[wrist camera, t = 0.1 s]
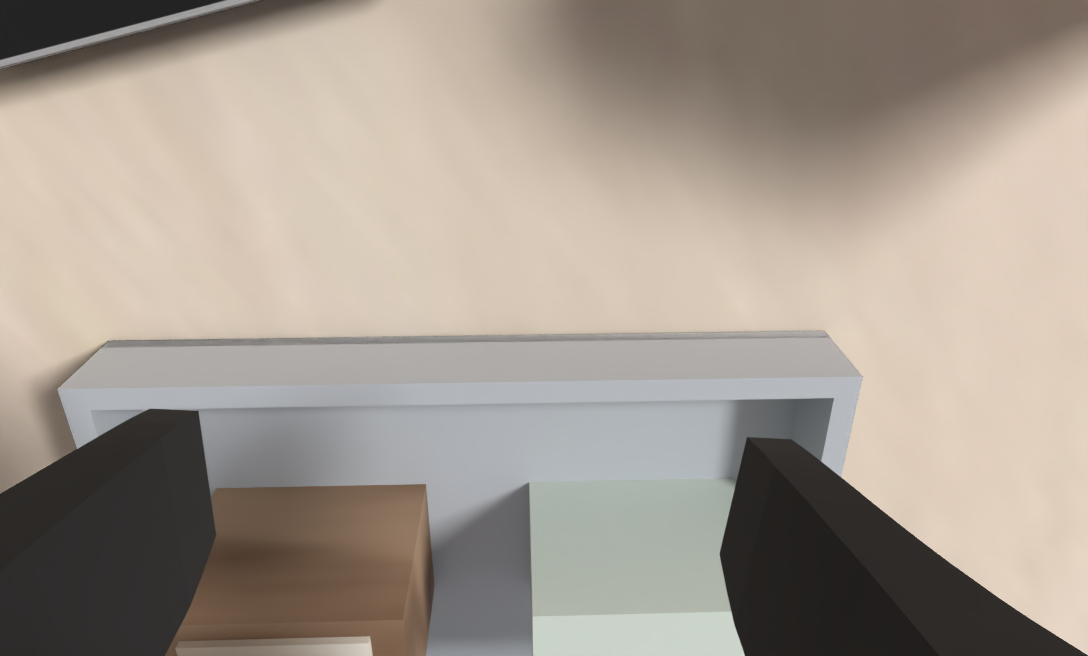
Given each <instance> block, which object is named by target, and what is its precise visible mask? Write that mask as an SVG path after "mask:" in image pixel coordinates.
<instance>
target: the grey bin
mask: <svg viewBox="0 0 1088 656" xmlns="http://www.w3.org/2000/svg"><path fill="white" fill-rule="evenodd" d="M862 377H863V376H862V375H861V374H860V373H859V372H858V370H857V369H856V368H855V367H854V365H853V364H852V363H851V362H850V361H849V359H848V358H847V357H846V356H845V355H844V353H843V352H842V351H841V350H840V349H839V347H838V346H837V345H836V344H835V343H834V341H833V340H832V339H831V338H830V337H829V335H828V334H827V333H826V332H825V331H779V332H707V333H634V334H562V335H489V336H417V337H344V338H272V339H199V340H127V341H108V342H107V343H106V344H105V345H104V346H103V347H102V348H101V349H100V350H98V351H97V352H96V353H95V354H94V355H93V356H92V357H91V358H90V359H89V360H88V361H87V362H86V363H85V364H84V365H82V366H81V367H80V368H79V369H78V370H77V371H76V372H75V373H74V374H73V375H72V376H71V377H70V378H69V379H68V380H66V381H65V382H64V383H63V384H62V385H61V386H60V387H59V388H58V389H57V390H58V393H59V396H60V399H61V402H62V405H63V408H64V411H65V414H66V417H67V420H68V423H69V427H70V430H71V433H72V436H73V439H74V442H75V445H76V448H77V449H78V448H80V447H81V446H83V445H85V444H86V443H88V442H90V441H92V440H93V439H95V438H97V437H98V436H100V435H102V434H104V433H105V432H107V431H109V430H111V429H112V428H114V427H116V426H118V425H119V424H121V423H123V422H125V421H126V420H128V419H130V418H132V417H134V416H136V415H138V414H140V413H142V412H144V411H146V410H148V409H169V410H190V411H199V418H200V425H201V432H202V439H203V446H204V453H205V460H206V467H207V474H208V481H209V488H210V495H211V498H212V496H213V494H214V492H215V491H216V489H217V488H253V487H304V486H355V485H405V484H426V490H427V502H428V514H429V526H430V538H431V550H432V561H433V573H434V585H435V588H434V596H433V603H432V611H431V619H430V626H429V634H428V642H427V650H426V656H532V642H531V598H530V507H529V482H557V481H608V480H658V479H709V478H733V479H734V481H735V483H736V481H737V477H738V473H739V468H740V464H741V460H742V456H743V451H744V447H745V443H746V438H747V437H757V438H778V439H792V440H793V441H795V442H796V443H797V444H799V445H800V446H802V447H803V448H804V449H806V450H807V451H808V452H810V453H811V454H812V455H814V456H815V457H816V458H817V459H819V460H820V461H821V462H822V463H824V464H825V465H826V466H827V467H829V468H830V469H831V470H832V471H834V472H835V473H836V474H837V475H839V476H840V477H841V474H842V470H843V465H844V461H845V456H846V451H847V447H848V442H849V437H850V433H851V428H852V424H853V419H854V414H855V410H856V405H857V400H858V396H859V391H860V387H861V382H862Z"/></svg>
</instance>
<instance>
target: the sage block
mask: <svg viewBox="0 0 1088 656" xmlns="http://www.w3.org/2000/svg"><path fill="white" fill-rule="evenodd" d="M735 485H736V483H735V481H734V479H733V478H709V479H658V480H608V481H557V482H529V507H530V598H531V642H532V656H745V654H744V651H743V648H742V646H741V643H740V640H739V637H738V634H737V631H736V628H735V625H734V621H733V617H732V612H731V608H730V603H729V599H728V595H727V590H726V585H725V580H724V575H723V570H722V565H721V560H720V555H719V554H720V549H721V545H722V541H723V536H724V532H725V528H726V524H727V519H728V515H729V511H730V507H731V502H732V498H733V494H734V490H735Z"/></svg>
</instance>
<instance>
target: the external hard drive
mask: <svg viewBox="0 0 1088 656" xmlns="http://www.w3.org/2000/svg"><path fill="white" fill-rule="evenodd" d="M258 1H262V0H0V69H4V68H8V67H12V66H16V65H19V64H23V63H27V62H31V61H35V60H38V59H42V58H46V57H50V56H53V55H57V54H61V53H65V52H69V51H72V50H76V49H80V48H84V47H88V46H91V45H95V44H99V43H103V42H107V41H110V40H114V39H118V38H122V37H126V36H129V35H133V34H137V33H141V32H144V31H148V30H152V29H156V28H160V27H163V26H167V25H171V24H175V23H179V22H182V21H186V20H190V19H194V18H198V17H201V16H205V15H209V14H213V13H217V12H220V11H224V10H228V9H232V8H235V7H239V6H243V5H247V4H251V3H254V2H258Z"/></svg>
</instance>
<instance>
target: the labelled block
mask: <svg viewBox="0 0 1088 656" xmlns="http://www.w3.org/2000/svg"><path fill="white" fill-rule="evenodd" d="M211 502H212V509H213V516H214V523H215V530H216V537H215V540H214V543H213V546H212V549H211V552H210V554H209V557H208V560H207V563H206V566H205V569H204V572H203V574H202V577H201V580H200V582H199V585H198V587H197V590H196V593H195V595H194V598H193V600H192V603H191V606H190V608H189V610H188V612H187V614H186V616H185V618H184V620H183V622H182V624H181V626H180V628H179V630H178V631H177V633H176V635H175V637H174V639H173V641H172V643H171V645H170V647H169V649H168V651H167V653H166V655H165V656H426V650H427V642H428V634H429V626H430V619H431V611H432V603H433V596H434V588H435V585H434V573H433V561H432V550H431V538H430V526H429V514H428V502H427V490H426V484H405V485H355V486H304V487H253V488H217V489H216V491H215V492H214V494H213V496H212V498H211Z"/></svg>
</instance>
